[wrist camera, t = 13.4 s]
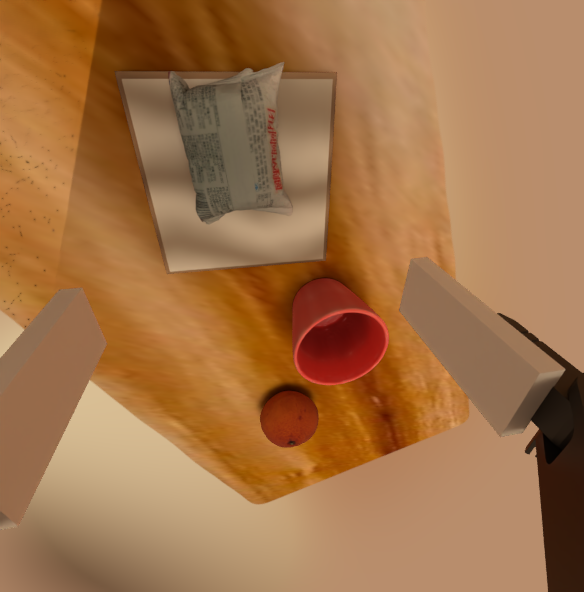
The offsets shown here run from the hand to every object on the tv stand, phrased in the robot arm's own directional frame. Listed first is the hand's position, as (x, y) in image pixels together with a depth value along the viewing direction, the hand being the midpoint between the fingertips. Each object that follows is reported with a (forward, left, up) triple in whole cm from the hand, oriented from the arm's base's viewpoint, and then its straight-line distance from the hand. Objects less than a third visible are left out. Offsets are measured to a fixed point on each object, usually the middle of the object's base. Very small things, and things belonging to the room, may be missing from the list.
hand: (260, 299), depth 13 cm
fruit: (+35, +4, -23) cm, 42 cm away
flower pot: (+16, +9, -23) cm, 29 cm away
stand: (0, 0, -22) cm, 22 cm away
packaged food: (0, +2, -22) cm, 22 cm away
